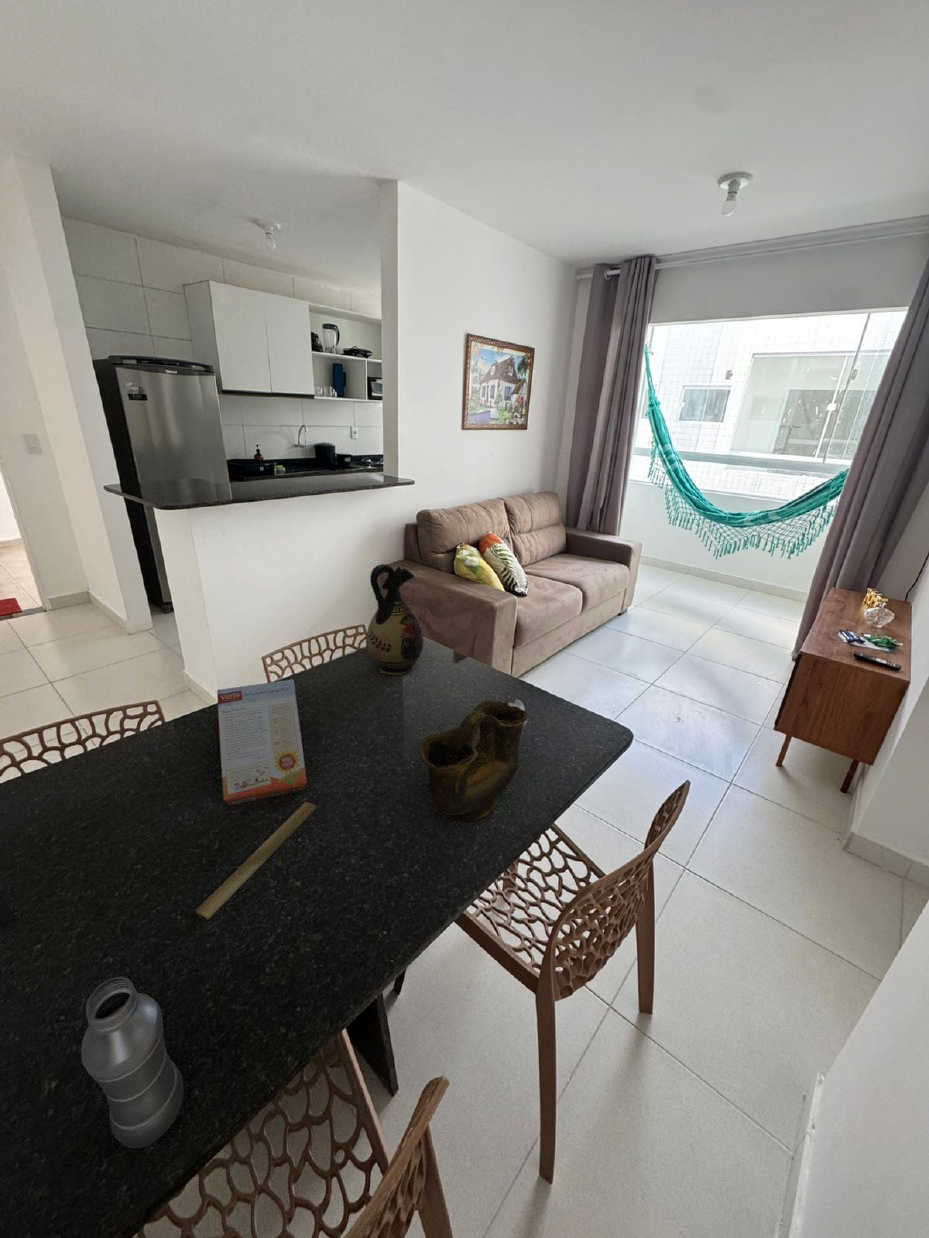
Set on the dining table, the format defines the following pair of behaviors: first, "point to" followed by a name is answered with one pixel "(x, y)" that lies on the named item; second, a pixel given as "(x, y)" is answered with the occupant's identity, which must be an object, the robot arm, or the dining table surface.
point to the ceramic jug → (393, 625)
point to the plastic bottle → (131, 1062)
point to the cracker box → (260, 742)
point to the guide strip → (254, 862)
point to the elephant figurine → (518, 704)
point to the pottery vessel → (474, 760)
